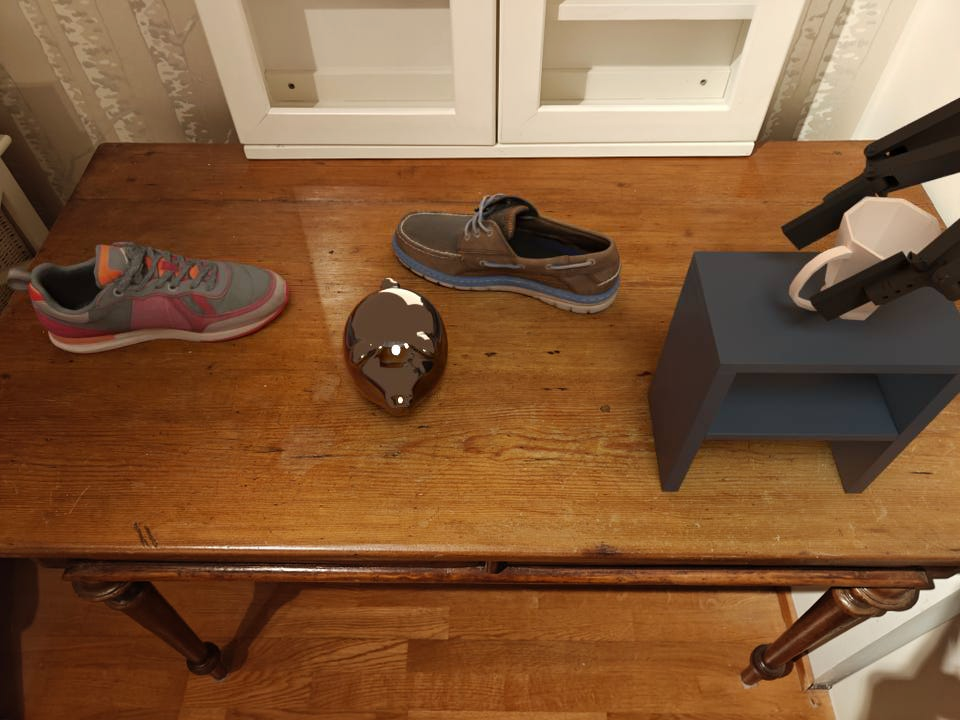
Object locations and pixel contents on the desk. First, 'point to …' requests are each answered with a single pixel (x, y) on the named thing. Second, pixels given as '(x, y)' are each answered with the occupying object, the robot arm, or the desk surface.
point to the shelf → (797, 367)
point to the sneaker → (148, 298)
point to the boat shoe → (512, 253)
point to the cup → (869, 244)
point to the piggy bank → (395, 347)
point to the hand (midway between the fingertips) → (803, 272)
